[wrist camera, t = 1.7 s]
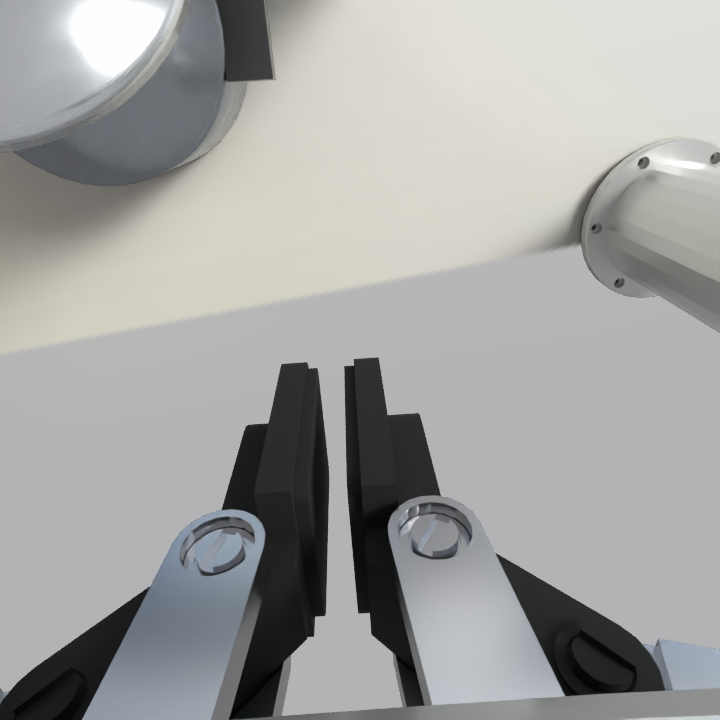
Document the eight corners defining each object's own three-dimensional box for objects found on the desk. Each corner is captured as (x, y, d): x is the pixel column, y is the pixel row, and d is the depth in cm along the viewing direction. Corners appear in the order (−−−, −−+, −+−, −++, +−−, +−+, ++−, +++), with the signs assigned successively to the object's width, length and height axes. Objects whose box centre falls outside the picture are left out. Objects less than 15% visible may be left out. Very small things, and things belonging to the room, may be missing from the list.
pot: (262, -135, 29) (234, -221, 21) (294, 158, 37) (283, 174, 29) (-69, -115, 29) (-221, -195, 21) (33, 175, 37) (-51, 196, 29)
